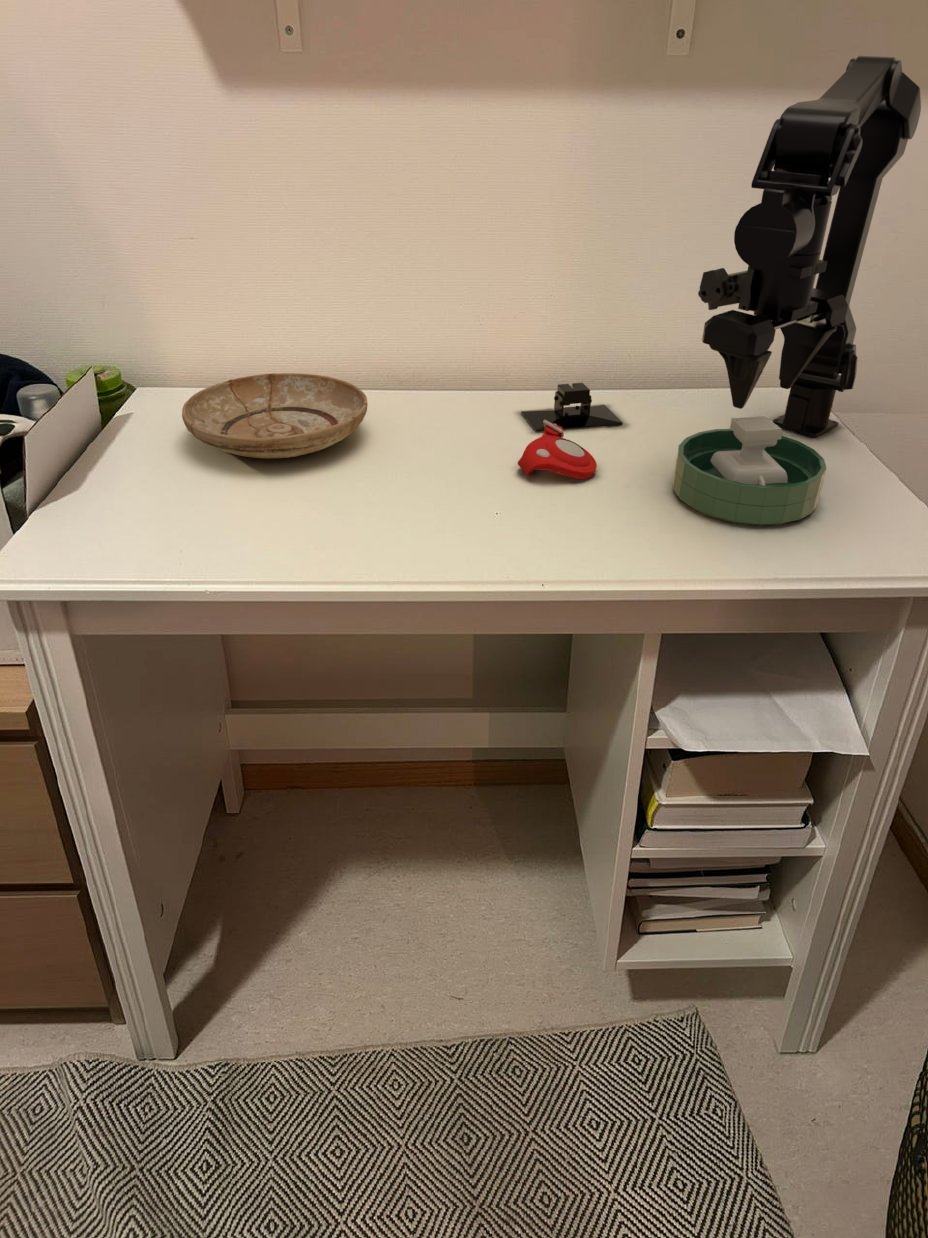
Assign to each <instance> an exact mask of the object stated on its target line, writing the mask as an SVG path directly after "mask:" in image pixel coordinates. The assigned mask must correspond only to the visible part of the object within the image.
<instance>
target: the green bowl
mask: <svg viewBox="0 0 928 1238" xmlns="http://www.w3.org/2000/svg"><path fill="white" fill-rule="evenodd" d="M741 449H742V443H741V442H740V441H739V440H738V439H737V438H736V437H735V435H734V431H733V430H732V429H730V428H715V429H709V430H703V431H699V432H697V433H694V434H691V435H689V436H687V437H685V438H684V439H683V440H682V441H681V442H680V443H679V444H678V448H677V453H676V460H675V467H674V472H673V473H674V474H673V480H672V489H673V491H674V492H675V494H676V496H677V497H678V498H679V499H680V500H681V502H683V503H685V504H687V505H688V506H689V507H690V508H692V509H693V510H694V511H696V512H699V513H701V514H702V515H705V516H708V517H710V518H713V519H716V520H719V521H722V522H728V523H731V524H736V525H737V524H738V525H744V526H757V527H758V526H759V527H761V526H763V527H764V526H777V525H783V524H787V523H788V524H789V523H791V522H794V521H799V520H802V519H803V518H805V517H807V516H808V515H810V514H812V513H814V511H815V509H816V507H817V505H818V504H819V499H820V496H821V492H822V488H823V485H824V484H823V483H824V480H825V476H826V472H827V464H826V460H825V458H824V457H823V456H822V455H821V454H820V453H818V451H816V450H815V449H814V448H812V447H810V446H808V445H807V444H806V443H805V444H804V443H803V442H801V441H799V440H796V439H793V438H790V437H787V436H785V435H782V438H781V439H779V440H777V444H776V445H775V446H772V447H766V448H765V449H764V450H765V451H766V452H767V453H768V454H769V455H770V456H771V457H772V458H773V459H774V460H775V461H776V462H777V463H778V464H779V465H780V466H781V467H782V468H783V469H784V470H785V471H786V473H787V477H788V479H787V483H786V484H784V485H769V486H764V485H755V484H745V483H739V482H735V481H731V480H727V479H722V478H719V477H718V475H717V473H716V471H715V469H714V468H713V465H712V463H711V458H712V456H713V455H714V453H716V452H718V451H735V450H741Z"/></svg>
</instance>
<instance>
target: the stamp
mask: <svg viewBox="0 0 928 1238" xmlns="http://www.w3.org/2000/svg"><path fill="white" fill-rule="evenodd" d="M729 429H732V430H733V431H734V435H735V437H736V438H737V439H738V440H739V441H740V442H741V443H742V449H741V450H735V451H718V452H716V453H714V455H713V456H712V458H711V463H712V465H713V468H714V469H715V471H716V473H717V475H718V477H719V478H722V479H727V480H731V481H735V482H739V483H745V484H755V485H764V486H769V485H784V484H786V483H787V479H788V477H787V473H786V471H785V470H784V469H783V468H782V467H781V466H780V465H779V464H778V463H777V462H776V461H775V460H774V459H773V458H772V457H771V456H770V455H769V454H768V453H767V452H766V451H765V450H764V449H765V448H766V447H772V446H775V445H776V444H777V440H779V439H781V438H782V436H783V435H782V434H783V428H782V427H781V426H778V425H776V424H774V423H773V420H770V418H768V417H767V416H766V415H761V416H746V417H745V416H744V417H731V419H730V427H729Z"/></svg>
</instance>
